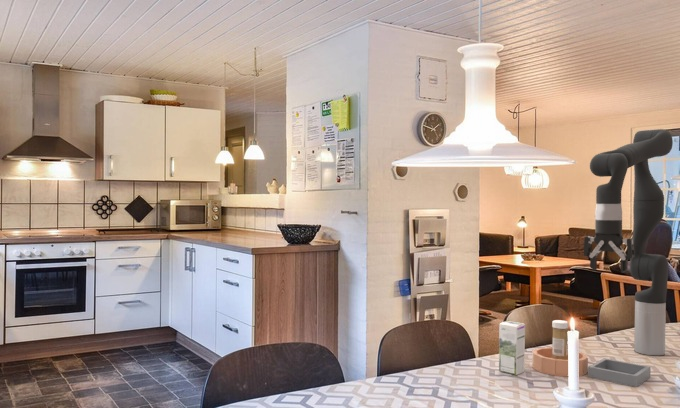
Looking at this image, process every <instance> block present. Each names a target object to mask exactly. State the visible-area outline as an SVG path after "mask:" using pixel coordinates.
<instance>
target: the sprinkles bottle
mask: <svg viewBox="0 0 680 408" xmlns="http://www.w3.org/2000/svg"><path fill="white" fill-rule="evenodd" d="M551 322H552V323H551V324H552V325H551V327H552V348H553V350H552V353H553V359H562V360H568V349H569V347H568V346H569V345H568V344H569V343H568V344H567V332H568V329H569V321H567V320H561V319H555V320H552V321H551Z"/></svg>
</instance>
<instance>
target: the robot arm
mask: <svg viewBox="0 0 680 408" xmlns="http://www.w3.org/2000/svg"><path fill="white" fill-rule="evenodd" d="M673 141H674V140H673V136H672V133H671V132H670V131H669V130H667V129H663V128H661V129H656V128H655V129H644V130H639V131H636V132H635V134H634V135H633V141H632V143H628V144H625V145H622V146H620V147H617V148H616V149H613V150H608V151H604V152H600V153H597V154H595V155H593V157H592V158H591V160H590V163H589V170H590V172H591V174H593V176H594V175H595V177H600V178H601V177H610V179H609V181H608V182H607V183H602V184H600V185H598V186H597V187H596V191H595V192H596V194H595V195H596V197H595V203H596V205H595V213H594V220H595V221H594V222H595V223H594V225H595V227H594V230H595V231H594V232H595V233H594V234H595V236H594V237H593V236H590V235H588V236H585V237H584V241H583V242H584V244H583V255H584V256H585V257H588V258H589V267H590V269H591V270H592V271H597V270H598V258H597V256H598V255H599V254H600V253H601V252H610V253H616V254H617V255H618V256H619V258H620V259H621V260H620V273H626V272H627V271H628V269H629V272H630V276H631V277H632V278H633V279H634V280H637V281H645V282H651V286H650V287H649V288H647V289H643V290H638V291H636V292H635V295H634V341H633V342H634V347H633V348H634V352H636V353H639V354H642V355H648V356H664V355H665V354H666V318H667V317H666V313H667V312H666V308H667V306H666V305H667V303H666V302H667V294H668V293H667V292H668V280H669V279H668V278H669V262H668V258H667V257H666V256H665V255H663V254H655V253H654V254H653V253H646V251H647V245H648V240H649V239H650V237H651V235H652V234H653V232H654V231H655V230H656V228H657V227H658V226H659V224H660V223H661V222H662V220H663V218H664V216H665V215H664V214H665V196H664V192H663V190H662V189H661V187H660V185H659V184H658V182H657V181H656V180H655V178H654V177H653V175H652V173H651V171H650V170H651V169H650V165H649V160H650V159H653V158H656V157H657V158H659V157H660V158H661V157H665V156H667V155H669V154H670V152H671V151H672V149H673V144H674V143H673ZM631 167H633V171H634V174H633V175H634V185H633V186H634V187H633V189H634V190H633V191H634V192H633V204H632V205H633V207H632V208H633V209H632V210H633V215H632V217H633V222H632V223H633V224H632V225H633V226H632V227H633V228H632V229H633V230H632V238H631V237H630V238H623V209H622V208H623V207H622V189H623V186H624V183H625V182H624V181H625V178H626V176H627V173H628V169H630V168H631ZM593 242H594V244H595V245H596V246H595V248H594V249H593V251H592V250H591V249H592V248H591V247H592V244H593ZM623 243H624V245H625V246H626V249H627V253H626V252H625V249H624V248H622V245H623ZM628 260H629V263H628ZM628 267H629V268H628Z"/></svg>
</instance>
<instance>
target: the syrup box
mask: <svg viewBox="0 0 680 408" xmlns="http://www.w3.org/2000/svg"><path fill="white" fill-rule="evenodd" d="M498 329H499V330H498V331H499V333H498V334H499V337H498V341H499V342H498V344H499V345H498V351H499V352H498V353H499V354H498V359H499V360H498V362H499V363H498V368H499V369H498V371H499V372H501V373H505V374H509V375H515V376H517V375H520V374H522V373H524V372H525V370H526V369H525V364H526V363H525V357H526V356H525V351H526V349H525V348H526V346H525V344H526V343H525V341H526V324H525V323H523V322H517V321H511V320H510V321H509V320H505V321H502V322H500V323H499V328H498Z"/></svg>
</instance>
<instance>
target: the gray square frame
mask: <svg viewBox="0 0 680 408" xmlns="http://www.w3.org/2000/svg"><path fill="white" fill-rule="evenodd" d="M651 367H652V366H647V365H643V364H637V363H633V362H632V363H631V362H626V361H622V360H617V359H612V358H611V359H610V358H605V357H604V358H602V359H600V360H598V361H596V362H594V363H593V364H591V365H588V373H587V375H588V376H587V378H590V379H596V380H600V381H605V382H611V383H615V384H620V385H624V386H630V387H635V388H638V387H639V386H640V385H642V384H643V383H645V382H646V381H647V380H649V379H650V378H651V371H652V369H651Z"/></svg>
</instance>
